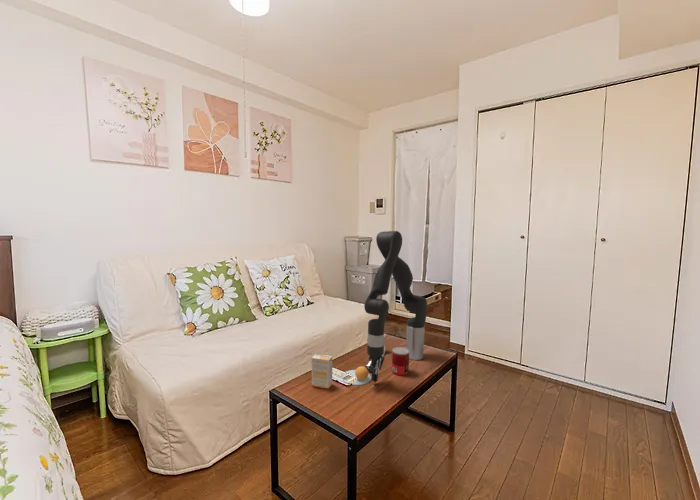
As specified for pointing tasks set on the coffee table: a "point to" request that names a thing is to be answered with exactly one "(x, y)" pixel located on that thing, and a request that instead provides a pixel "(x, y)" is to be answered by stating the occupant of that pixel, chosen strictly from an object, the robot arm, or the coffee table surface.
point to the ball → (361, 373)
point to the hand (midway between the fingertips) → (374, 380)
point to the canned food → (400, 361)
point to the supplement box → (322, 371)
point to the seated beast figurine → (384, 345)
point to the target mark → (357, 381)
